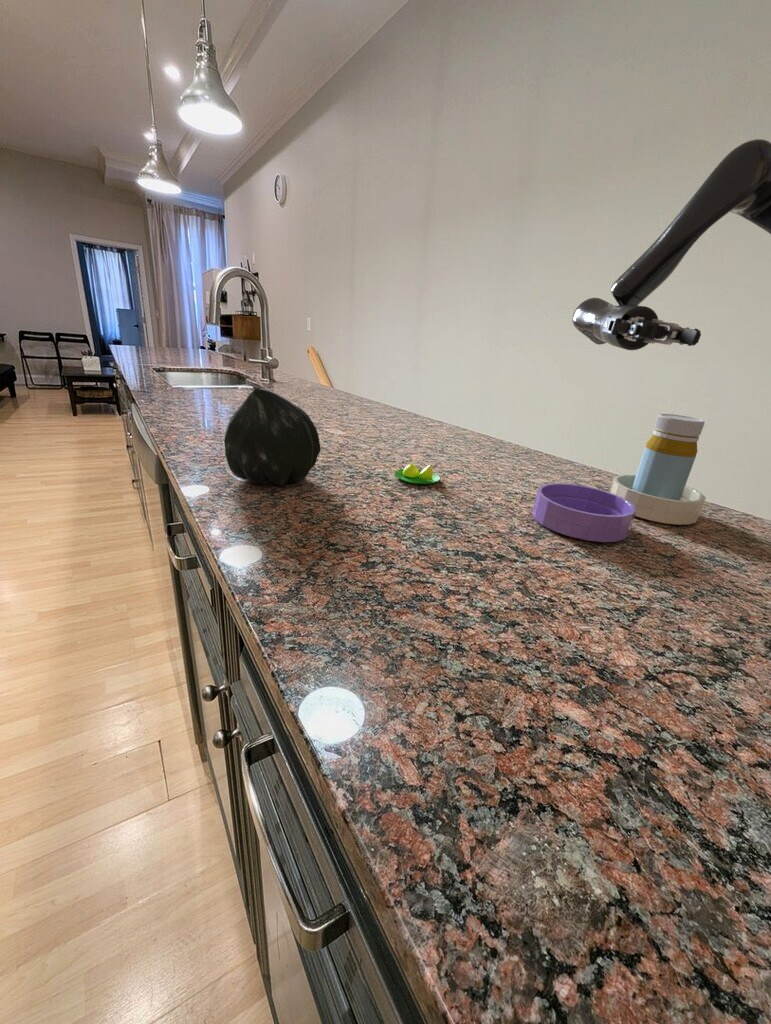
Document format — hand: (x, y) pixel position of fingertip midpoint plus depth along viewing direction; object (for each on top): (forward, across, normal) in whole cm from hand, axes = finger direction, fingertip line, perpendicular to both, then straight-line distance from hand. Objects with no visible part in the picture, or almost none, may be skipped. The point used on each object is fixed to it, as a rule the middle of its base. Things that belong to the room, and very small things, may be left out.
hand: (669, 334), depth 71 cm
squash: (+13, -60, +29) cm, 67 cm away
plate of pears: (+6, -36, +28) cm, 46 cm away
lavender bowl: (+19, -13, +26) cm, 35 cm away
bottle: (+10, +3, +26) cm, 28 cm away
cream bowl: (+10, +3, +26) cm, 28 cm away
